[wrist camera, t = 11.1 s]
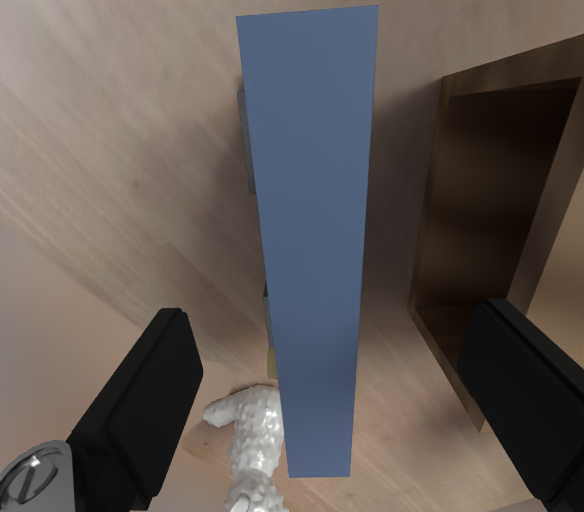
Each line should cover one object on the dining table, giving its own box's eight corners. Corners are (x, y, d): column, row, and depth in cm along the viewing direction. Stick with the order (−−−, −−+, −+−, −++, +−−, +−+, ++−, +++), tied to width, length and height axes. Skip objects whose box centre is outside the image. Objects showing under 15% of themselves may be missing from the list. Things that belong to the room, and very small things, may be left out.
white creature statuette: (203, 405, 31) (154, 554, 21) (242, 360, 28) (209, 509, 17) (271, 435, 34) (260, 583, 23) (315, 398, 31) (326, 548, 20)
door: (255, 85, 17) (180, 20, 6) (324, 81, 17) (378, 4, 6) (278, 321, 25) (265, 478, 14) (326, 319, 24) (349, 476, 14)
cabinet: (443, 76, 17) (643, 15, 7) (610, 65, 17) (1059, -17, 7) (407, 310, 25) (479, 433, 15) (520, 306, 25) (670, 429, 15)
